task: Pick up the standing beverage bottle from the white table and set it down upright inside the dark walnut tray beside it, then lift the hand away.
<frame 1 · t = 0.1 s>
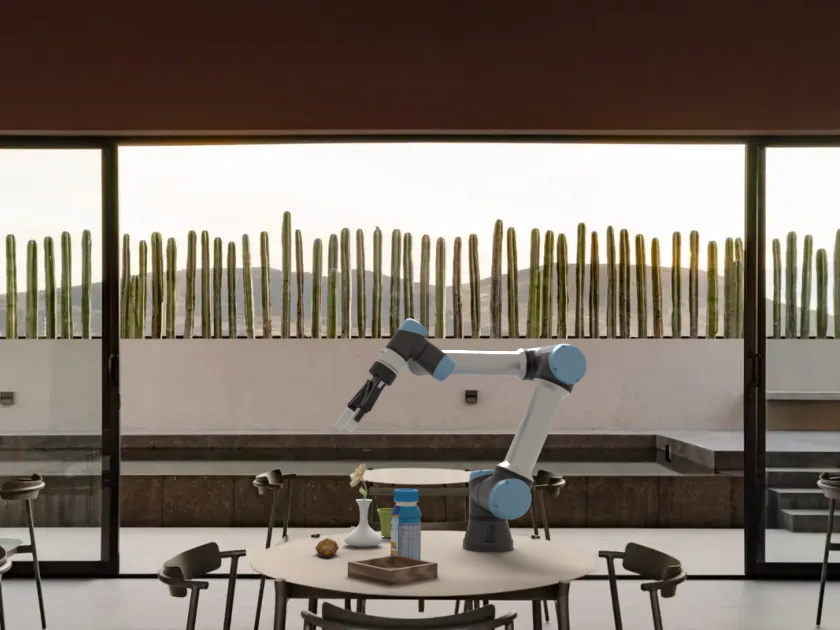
hand: (342, 429, 267), 36 cm above the table, tool tilted 35°, fingers open, 13 cm apart
beverage bottle: (405, 565, 260), on the table
plant pot: (391, 538, 308), on the table
flower in vase: (362, 547, 289), on the table
walnut tray: (392, 576, 243), on the table
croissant: (326, 556, 275), on the table
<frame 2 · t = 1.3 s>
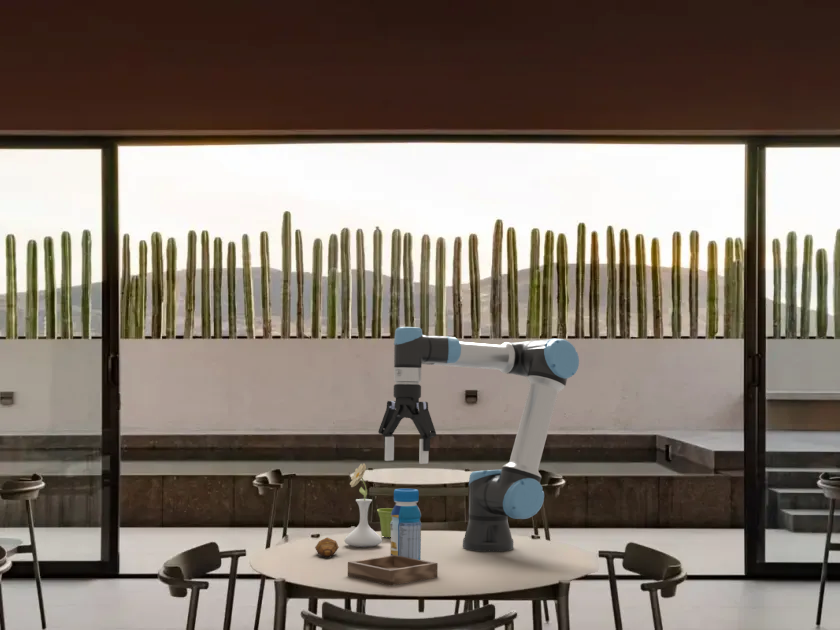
hand: (406, 462, 262), 27 cm above the table, tool pointing down, fingers open, 13 cm apart
nothing on the table moved.
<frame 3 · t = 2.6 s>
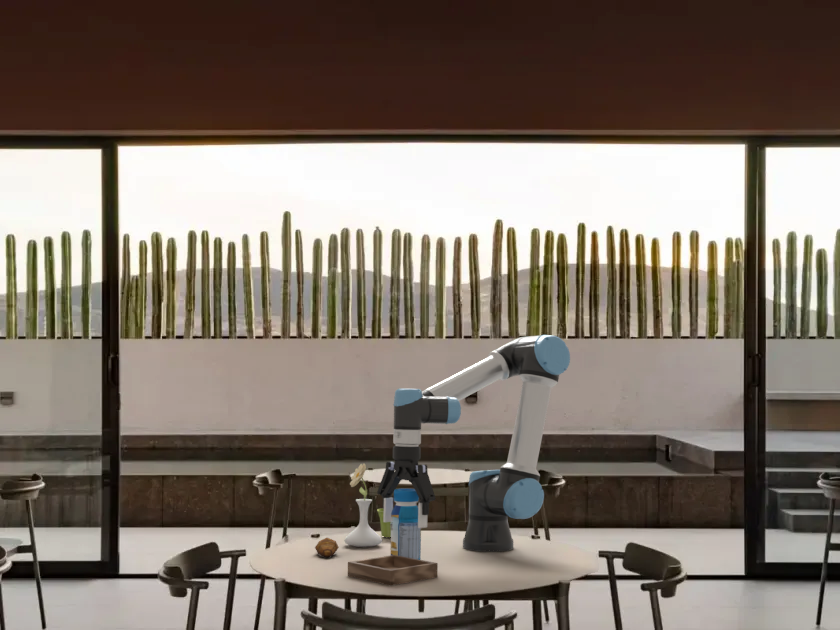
hand: (404, 524, 261), 11 cm above the table, tool pointing down, fingers open, 13 cm apart
nothing on the table moved.
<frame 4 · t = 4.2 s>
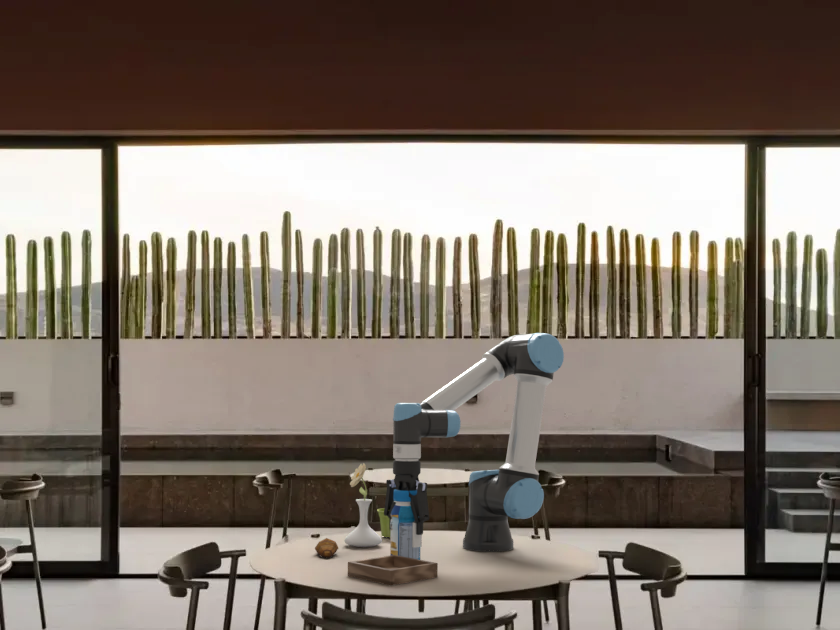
hand: (405, 544, 261), 5 cm above the table, tool pointing down, fingers closed on beverage bottle, 8 cm apart
beverage bottle: (405, 565, 260), on the table, touching gripper
everything else where it was.
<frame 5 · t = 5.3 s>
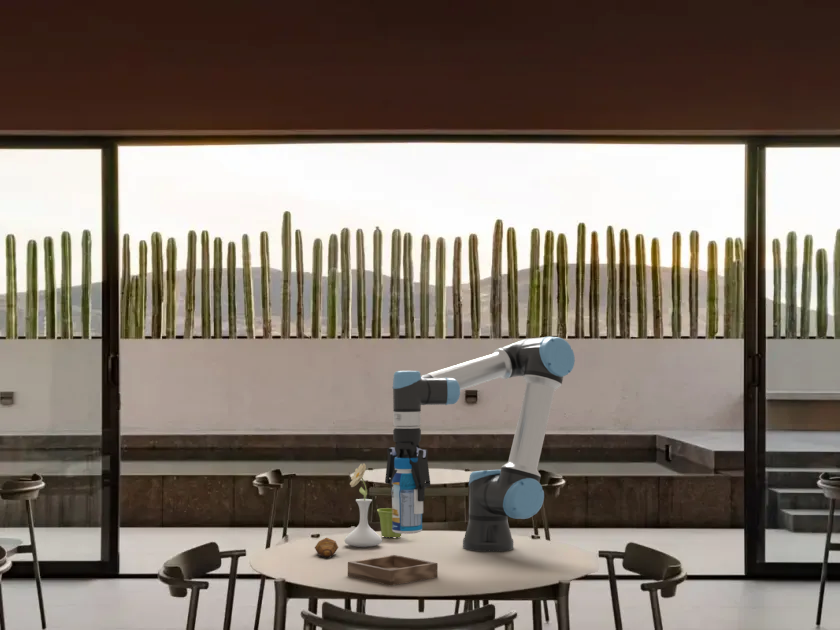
hand: (407, 511, 262), 14 cm above the table, tool pointing down, fingers closed on beverage bottle, 8 cm apart
beverage bottle: (407, 532, 261), point 8 cm above the table, touching gripper
everything else where it was.
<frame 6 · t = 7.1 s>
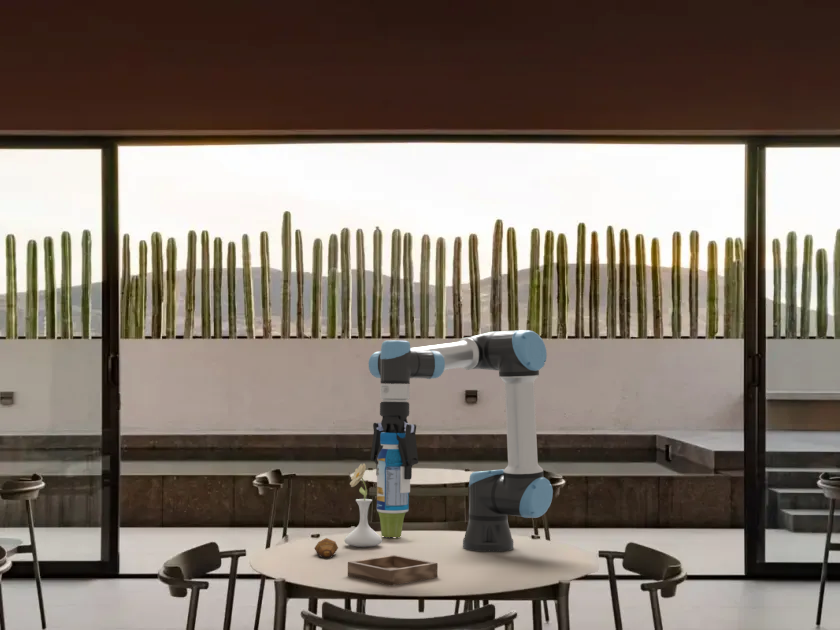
hand: (393, 490, 245), 21 cm above the table, tool pointing down, fingers closed on beverage bottle, 8 cm apart
beverage bottle: (392, 512, 245), point 16 cm above the table, touching gripper
everything else where it was.
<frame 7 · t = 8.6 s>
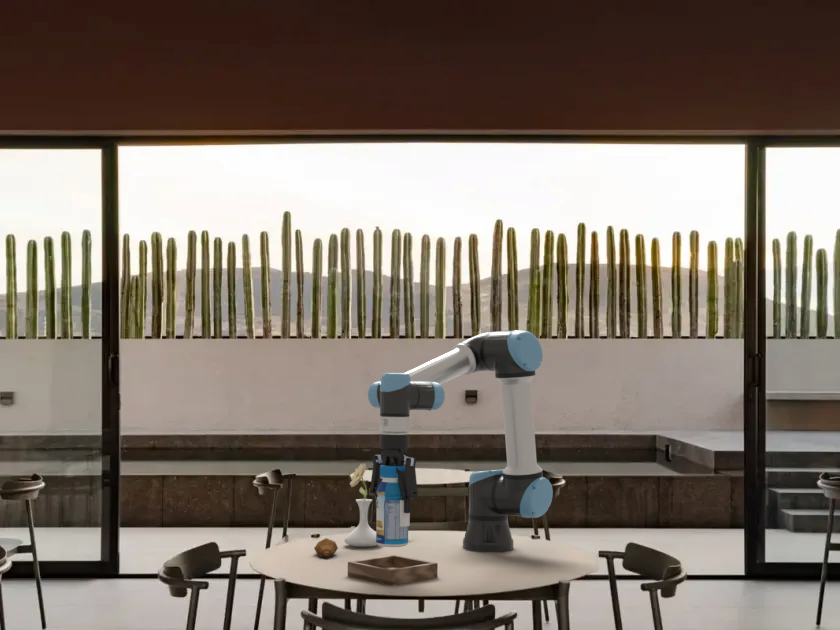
hand: (392, 524, 244), 13 cm above the table, tool pointing down, fingers closed on beverage bottle, 8 cm apart
beverage bottle: (392, 545, 244), point 8 cm above the table, touching gripper
everything else where it was.
when the fingers open (8 cm above the table, at t = 10.4 s): beverage bottle drops 1 cm, resting on walnut tray.
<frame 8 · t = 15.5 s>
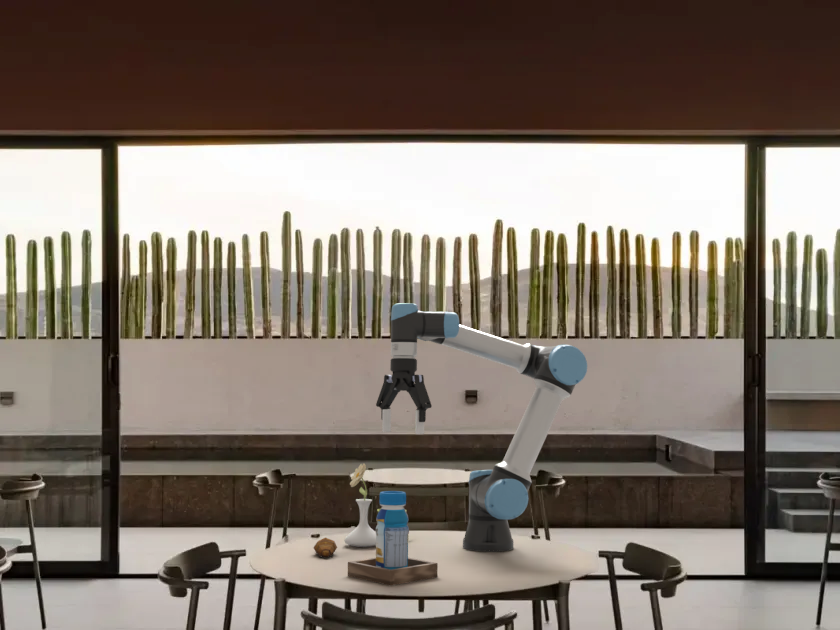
hand: (402, 433, 273), 35 cm above the table, tool pointing down, fingers open, 13 cm apart
beverage bottle: (391, 573, 244), point 1 cm above the table, touching walnut tray
everything else where it was.
at the end: beverage bottle inside the target area on the walnut tray (0.3 cm from its centre), point 0.8 cm above the walnut tray's base; beverage bottle tilted 0°; the gripper is holding nothing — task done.
